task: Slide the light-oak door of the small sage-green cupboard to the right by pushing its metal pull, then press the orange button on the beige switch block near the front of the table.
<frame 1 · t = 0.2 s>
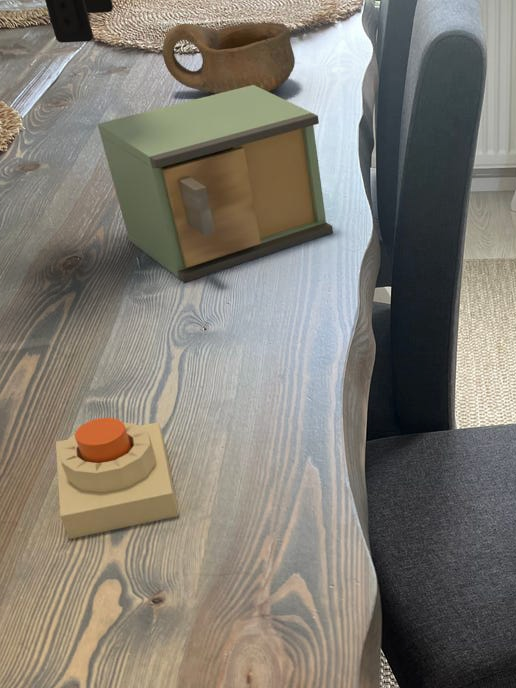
hand: (86, 25, 93), 21 cm above the table, tool pointing down, fingers open, 9 cm apart
cupboard: (228, 235, 110), on the table
brown clay cup: (236, 95, 144), on the table
light button: (103, 440, 75), point 4 cm above the table, slide at 0.1 cm
cupboard door: (222, 213, 100), point 6 cm above the table, slide at 0.0 cm
switch block: (119, 489, 78), on the table
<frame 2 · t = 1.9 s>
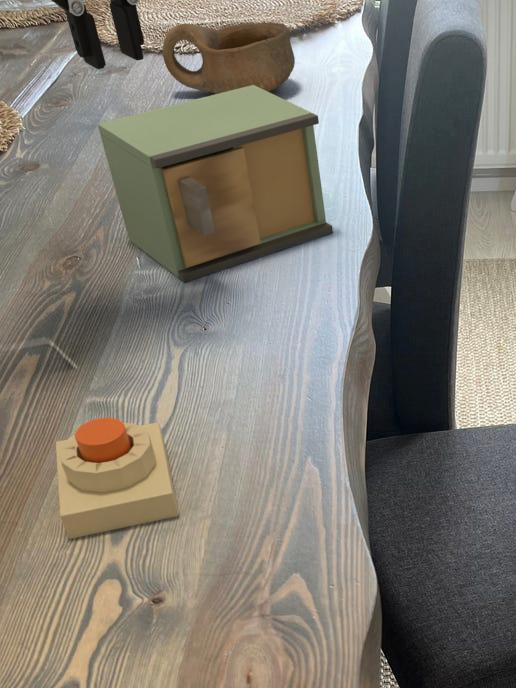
hand: (113, 58, 86), 21 cm above the table, tool pointing down, fingers closed
nothing on the table moved.
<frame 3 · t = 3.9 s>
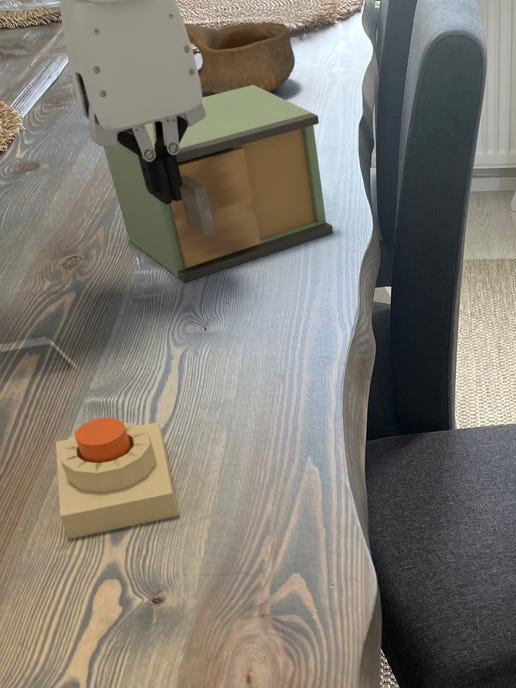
hand: (167, 197, 95), 9 cm above the table, tool pointing down, fingers closed
nothing on the table moved.
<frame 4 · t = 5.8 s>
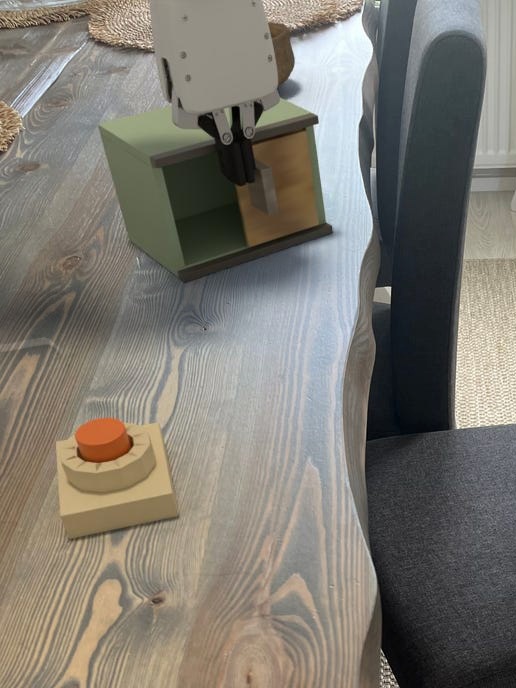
hand: (240, 180, 99), 9 cm above the table, tool pointing down, fingers closed
cupboard door: (284, 194, 103), point 6 cm above the table, slide at 7.2 cm, touching gripper
everything else where it was.
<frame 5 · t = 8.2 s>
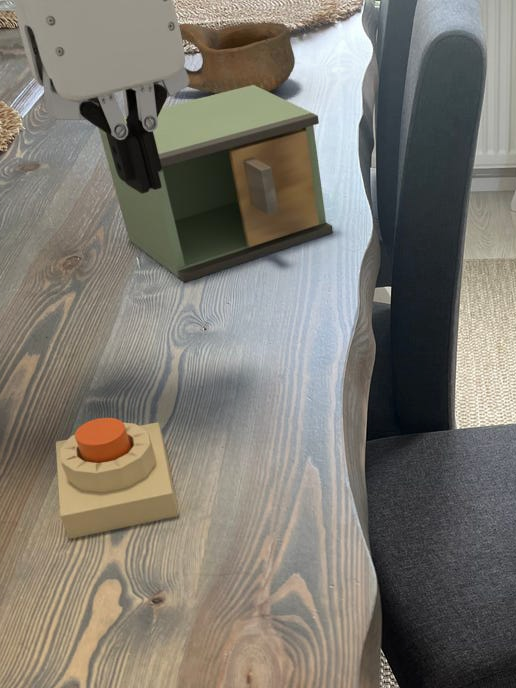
hand: (143, 185, 77), 17 cm above the table, tool pointing down, fingers closed
cupboard door: (284, 194, 103), point 6 cm above the table, slide at 7.2 cm
everything else where it was.
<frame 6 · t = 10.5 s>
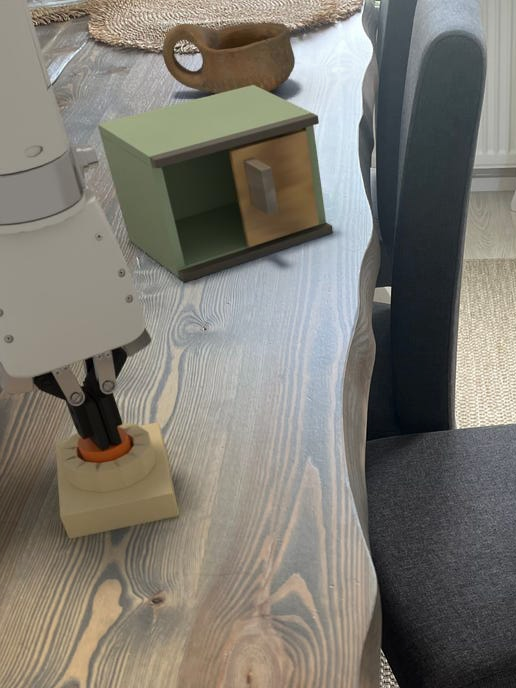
hand: (103, 438, 74), 5 cm above the table, tool pointing down, fingers closed
light button: (105, 448, 75), point 4 cm above the table, slide at -0.6 cm, touching gripper
everything else where it was.
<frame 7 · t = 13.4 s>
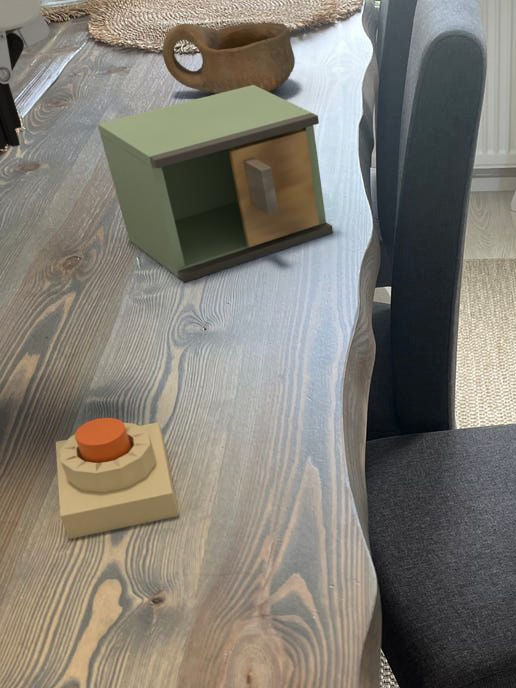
hand: (2, 142, 73), 21 cm above the table, tool pointing down, fingers closed
light button: (103, 440, 75), point 4 cm above the table, slide at 0.1 cm
everything else where it was.
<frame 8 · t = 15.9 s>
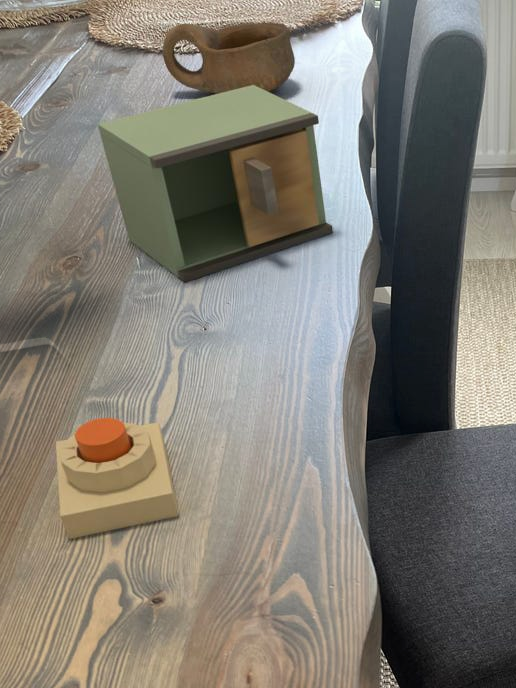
nothing on the table moved.
at the end: cupboard door slide at 7.2 cm; light button pushed in 0.9 cm at the most during the clip, back to where it started at the end; light button slide at 0.1 cm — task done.
